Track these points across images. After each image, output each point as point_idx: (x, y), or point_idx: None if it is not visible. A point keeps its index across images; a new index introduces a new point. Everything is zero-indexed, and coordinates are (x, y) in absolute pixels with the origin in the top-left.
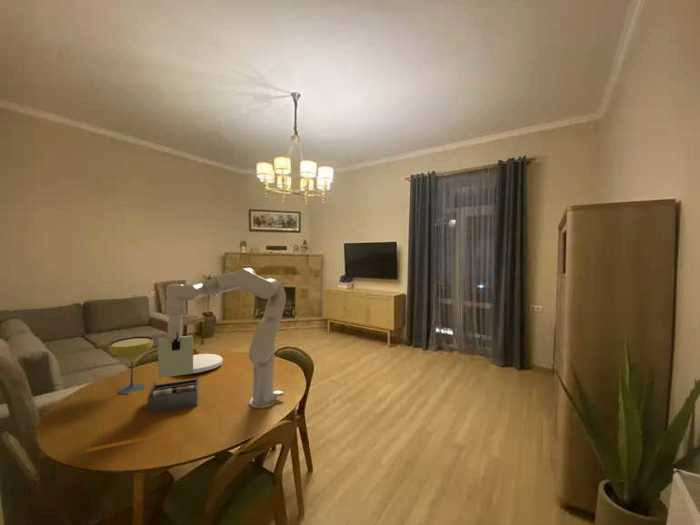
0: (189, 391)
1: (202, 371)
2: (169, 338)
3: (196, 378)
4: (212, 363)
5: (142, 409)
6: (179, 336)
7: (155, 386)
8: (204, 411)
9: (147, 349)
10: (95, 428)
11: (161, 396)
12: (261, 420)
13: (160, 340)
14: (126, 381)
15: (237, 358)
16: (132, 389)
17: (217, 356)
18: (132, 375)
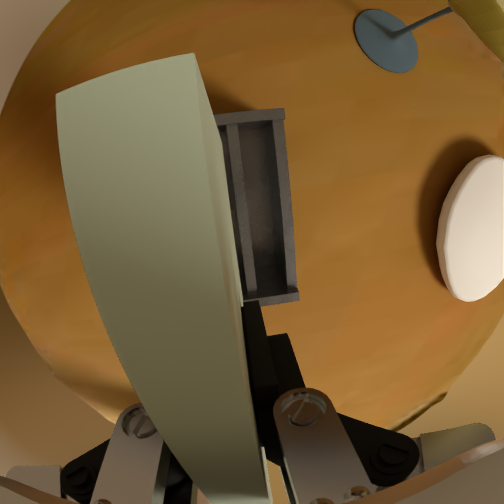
0: None
1: (437, 252)
2: (158, 429)
3: (279, 295)
4: (458, 284)
5: (215, 98)
6: (287, 497)
7: (259, 121)
8: None
9: (490, 46)
10: (133, 21)
11: None
12: (109, 404)
13: (87, 178)
14: (438, 31)
15: (476, 321)
16: (376, 40)
17: (492, 285)
18: (415, 27)
